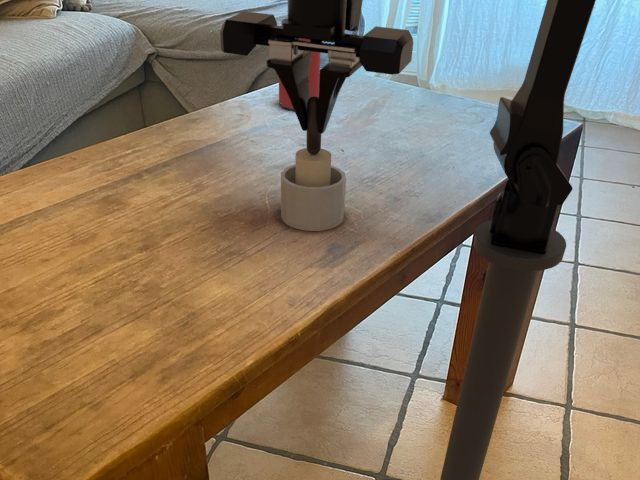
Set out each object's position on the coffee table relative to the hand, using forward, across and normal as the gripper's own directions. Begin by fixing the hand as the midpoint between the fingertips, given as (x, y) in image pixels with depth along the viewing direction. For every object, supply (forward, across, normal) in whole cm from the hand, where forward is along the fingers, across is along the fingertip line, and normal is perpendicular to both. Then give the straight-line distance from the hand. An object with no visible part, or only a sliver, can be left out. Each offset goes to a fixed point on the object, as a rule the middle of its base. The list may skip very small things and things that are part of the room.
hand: (314, 131), depth 72 cm
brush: (+6, 0, 0) cm, 6 cm away
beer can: (+10, +16, -38) cm, 42 cm away
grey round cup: (+10, 0, 0) cm, 10 cm away
